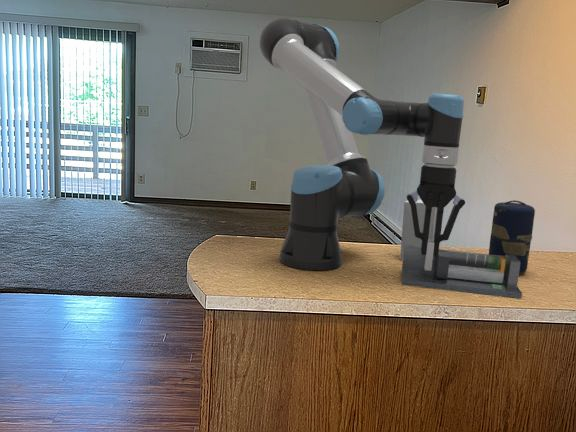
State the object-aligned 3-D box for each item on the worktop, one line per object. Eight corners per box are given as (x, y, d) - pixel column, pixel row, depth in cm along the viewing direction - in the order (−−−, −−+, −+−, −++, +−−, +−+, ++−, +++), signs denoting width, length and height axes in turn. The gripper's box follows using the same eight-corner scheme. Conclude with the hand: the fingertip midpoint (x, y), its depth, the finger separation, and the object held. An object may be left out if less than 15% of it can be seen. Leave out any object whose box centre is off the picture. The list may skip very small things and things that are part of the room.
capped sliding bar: (436, 277, 126) (439, 253, 125) (434, 271, 131) (437, 248, 130) (503, 285, 123) (507, 260, 122) (499, 279, 128) (502, 255, 127)
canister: (530, 278, 136) (540, 205, 133) (489, 273, 138) (498, 201, 135) (521, 268, 146) (532, 199, 142) (483, 264, 147) (492, 196, 144)
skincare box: (435, 259, 149) (442, 201, 146) (430, 264, 143) (437, 204, 140) (403, 254, 152) (410, 197, 149) (397, 259, 146) (404, 200, 144)
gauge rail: (402, 284, 124) (405, 253, 123) (401, 270, 136) (404, 241, 134) (521, 298, 120) (526, 265, 118) (510, 282, 131) (514, 252, 130)
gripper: (409, 164, 122) (398, 269, 126) (471, 169, 119) (458, 276, 124) (408, 162, 129) (398, 261, 133) (467, 166, 127) (455, 267, 131)
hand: (427, 268), depth 128 cm, fingers closed
